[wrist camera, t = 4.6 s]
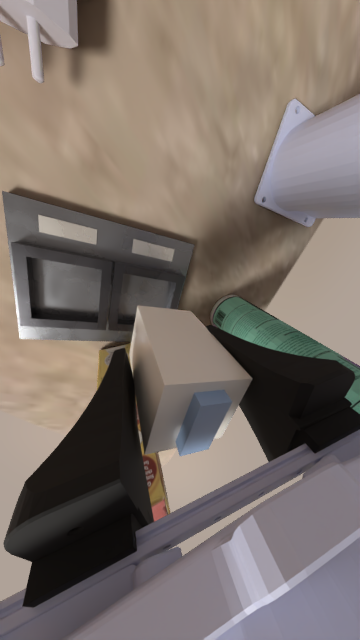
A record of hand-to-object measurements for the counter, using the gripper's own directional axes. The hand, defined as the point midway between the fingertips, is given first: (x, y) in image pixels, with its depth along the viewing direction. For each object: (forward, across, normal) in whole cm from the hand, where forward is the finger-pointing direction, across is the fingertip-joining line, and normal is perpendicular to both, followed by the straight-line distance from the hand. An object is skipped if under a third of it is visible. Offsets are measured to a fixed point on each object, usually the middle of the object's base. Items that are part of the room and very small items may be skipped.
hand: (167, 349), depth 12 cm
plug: (+2, 0, 0) cm, 2 cm away
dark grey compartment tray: (+10, +3, -2) cm, 10 cm away
